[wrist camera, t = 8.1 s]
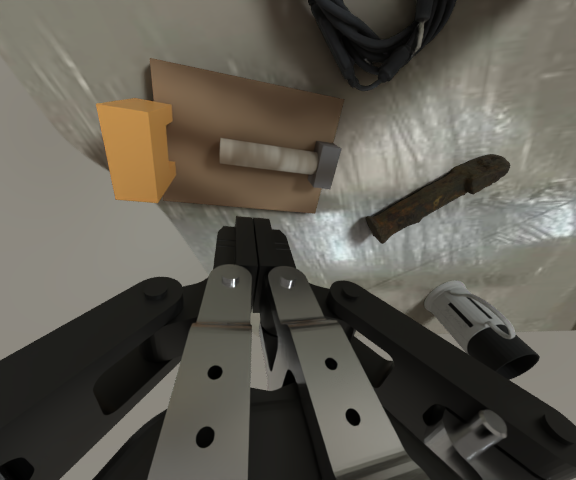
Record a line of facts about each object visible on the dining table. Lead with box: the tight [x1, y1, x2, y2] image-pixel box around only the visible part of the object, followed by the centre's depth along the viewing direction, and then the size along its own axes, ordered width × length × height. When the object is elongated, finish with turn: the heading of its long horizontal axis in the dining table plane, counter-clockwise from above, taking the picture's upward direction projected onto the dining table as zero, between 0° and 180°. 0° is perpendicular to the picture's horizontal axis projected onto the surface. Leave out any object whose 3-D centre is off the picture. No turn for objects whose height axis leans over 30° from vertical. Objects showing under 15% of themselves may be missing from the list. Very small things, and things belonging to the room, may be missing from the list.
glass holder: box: [424, 281, 539, 380], centre depth 41 cm, size 9×14×15 cm, turn 24°
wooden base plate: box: [150, 58, 344, 213], centre depth 25 cm, size 13×18×4 cm
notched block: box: [96, 98, 176, 203], centre depth 20 cm, size 7×3×7 cm, turn 170°
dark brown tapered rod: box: [366, 154, 510, 244], centre depth 33 cm, size 19×4×5 cm, turn 118°
